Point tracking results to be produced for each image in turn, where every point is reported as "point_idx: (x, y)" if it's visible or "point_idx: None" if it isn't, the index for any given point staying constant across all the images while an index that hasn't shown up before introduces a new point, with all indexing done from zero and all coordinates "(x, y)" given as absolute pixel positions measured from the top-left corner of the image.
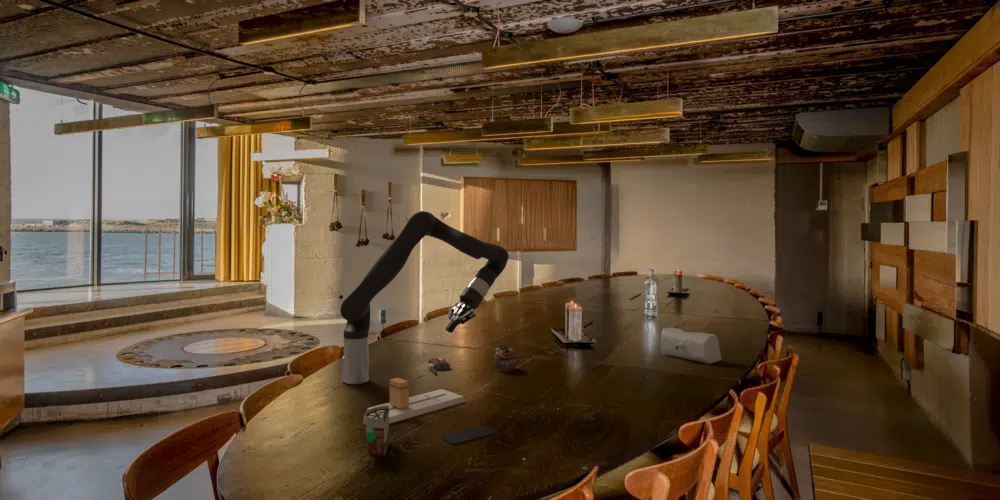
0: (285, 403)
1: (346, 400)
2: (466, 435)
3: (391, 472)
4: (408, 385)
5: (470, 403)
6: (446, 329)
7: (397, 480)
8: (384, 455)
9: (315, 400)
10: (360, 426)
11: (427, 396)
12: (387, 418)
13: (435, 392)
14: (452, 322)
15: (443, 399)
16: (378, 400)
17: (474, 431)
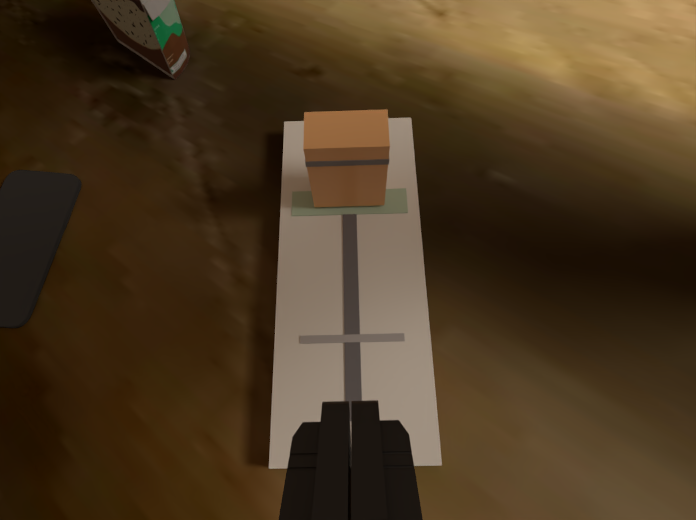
0: (666, 18)
1: (594, 145)
2: (13, 233)
3: (42, 18)
4: (305, 159)
5: (237, 480)
6: (362, 401)
7: (5, 11)
8: (116, 39)
9: (651, 81)
10: (328, 79)
11: (379, 335)
12: (134, 12)
13: (411, 403)
14: (324, 494)
15: (301, 365)
16: (528, 220)
17: (11, 271)
